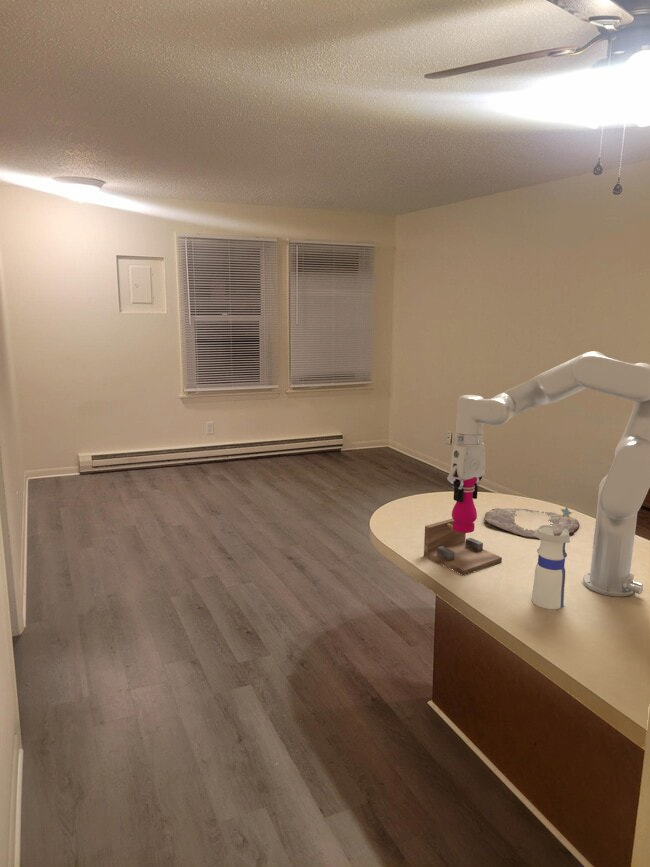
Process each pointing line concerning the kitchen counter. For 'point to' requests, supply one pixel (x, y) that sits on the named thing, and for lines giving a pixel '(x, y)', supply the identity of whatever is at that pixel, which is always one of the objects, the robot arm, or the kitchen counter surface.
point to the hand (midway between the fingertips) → (465, 498)
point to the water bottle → (550, 567)
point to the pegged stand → (456, 549)
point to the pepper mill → (465, 509)
